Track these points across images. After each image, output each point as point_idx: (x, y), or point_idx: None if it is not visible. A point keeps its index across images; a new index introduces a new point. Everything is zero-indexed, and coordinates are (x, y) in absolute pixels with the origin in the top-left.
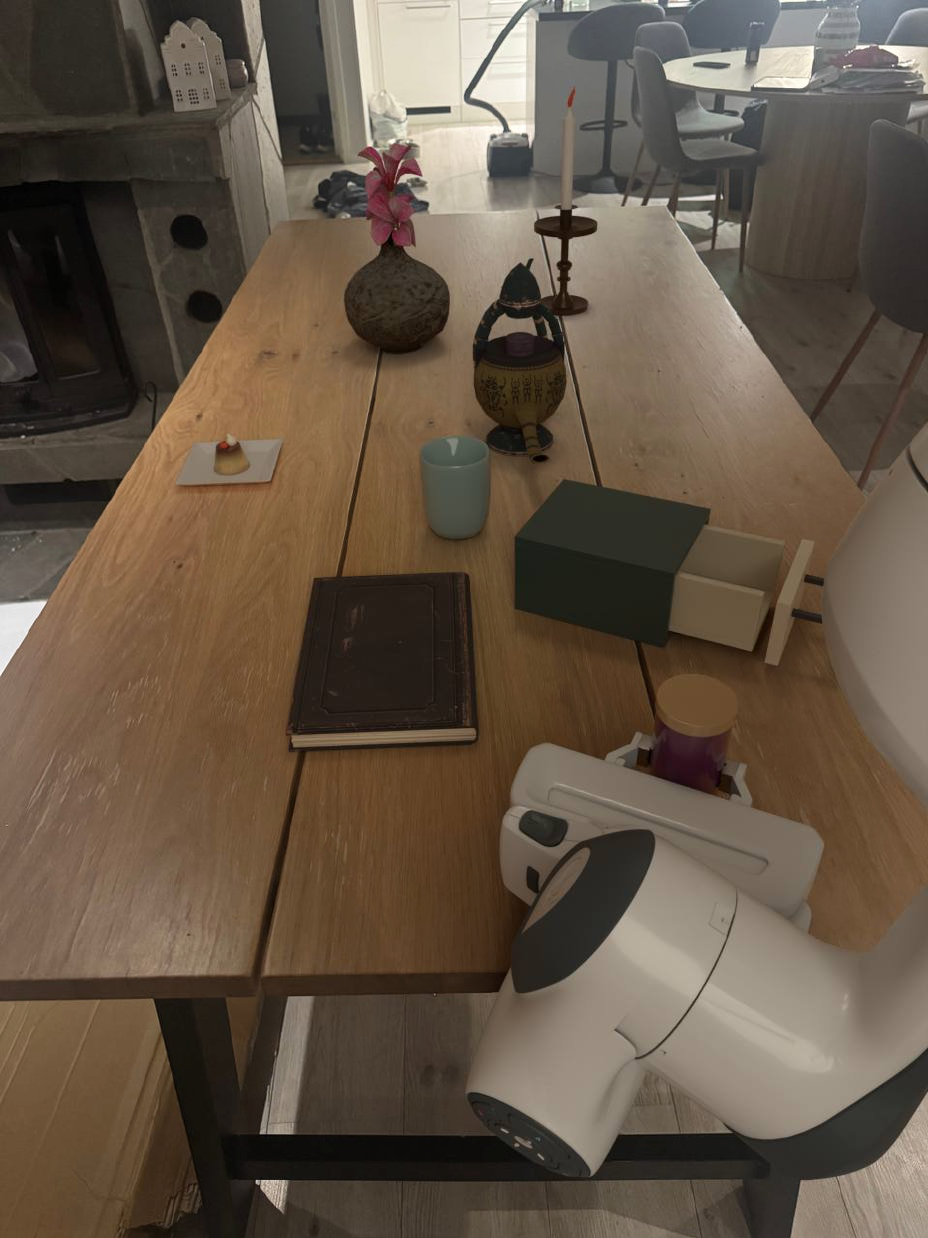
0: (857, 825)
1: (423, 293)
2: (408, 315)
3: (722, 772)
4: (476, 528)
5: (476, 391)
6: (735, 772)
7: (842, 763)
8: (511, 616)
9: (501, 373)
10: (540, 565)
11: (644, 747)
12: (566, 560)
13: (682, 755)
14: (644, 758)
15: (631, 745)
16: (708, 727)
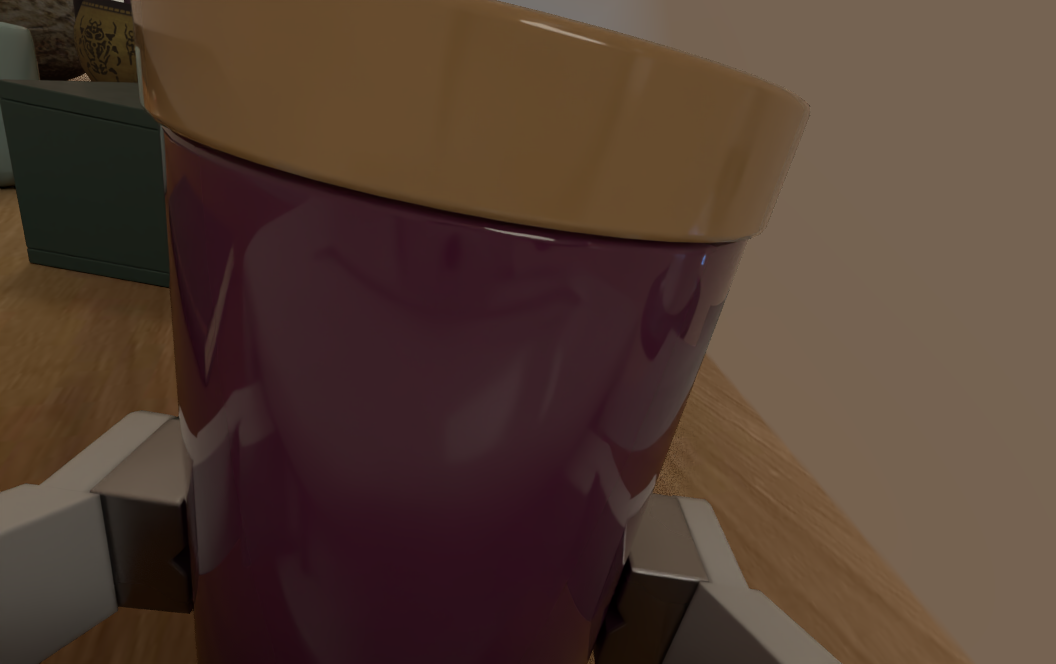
0: (821, 615)
1: (51, 7)
2: (27, 25)
3: (637, 566)
4: (4, 165)
5: (77, 50)
6: (696, 552)
7: (699, 474)
8: (12, 272)
9: (109, 17)
10: (68, 152)
11: (150, 489)
12: (124, 136)
13: (415, 494)
14: (161, 560)
15: (46, 488)
16: (735, 80)
